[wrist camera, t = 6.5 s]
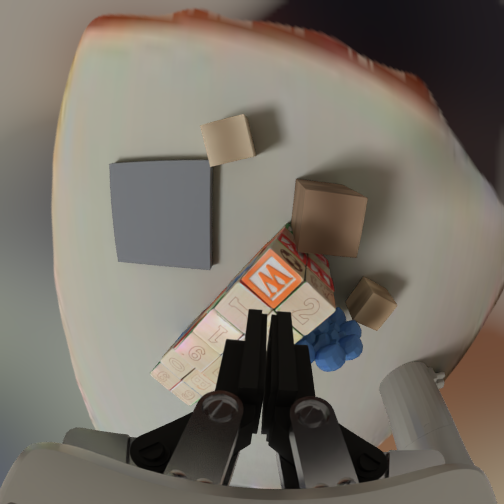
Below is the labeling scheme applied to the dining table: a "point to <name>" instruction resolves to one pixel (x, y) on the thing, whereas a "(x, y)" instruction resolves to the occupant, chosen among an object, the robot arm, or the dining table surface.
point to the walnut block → (327, 218)
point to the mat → (163, 212)
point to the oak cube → (370, 304)
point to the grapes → (333, 342)
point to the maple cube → (228, 140)
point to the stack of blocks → (236, 313)
